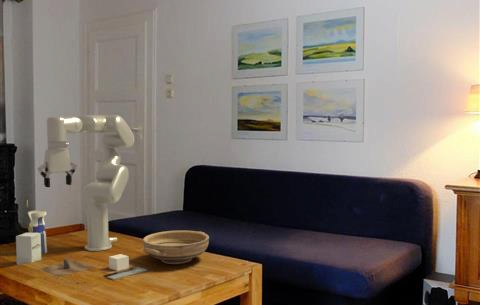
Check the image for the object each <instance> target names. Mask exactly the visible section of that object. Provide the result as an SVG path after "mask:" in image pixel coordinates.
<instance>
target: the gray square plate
mask: <svg viewBox="0 0 480 305" xmlns="http://www.w3.org/2000/svg"><path fill="white" fill-rule="evenodd" d="M128 269H129V270H127V271H123V272H120V273H115V272H112V273H111V272H110V273H108V274H105V275H104V274H103V276H104V277H103V278H106V277H107V279H109V280H112V281H115V280H116V281H117V280H119V279H123V277H124V278H126V277H130V275H131V276H133V275H138V274H141V273H145V272H148V269H147V268H144V267H140V266H133V267H131V268H130V267H129V268H128ZM137 273H138V274H137Z"/></svg>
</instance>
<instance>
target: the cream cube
mask: <svg viewBox="0 0 480 305" xmlns="http://www.w3.org/2000/svg"><path fill="white" fill-rule="evenodd" d="M129 258H130V257H129V256H128V255H126V254H125V255H124V254H122V253H119V254H115V255H111V256H108V268H109V269H111V270H113V271H115V272H114V273H120V272H123V271H127V270H129V269H130V262H129V261H130V259H129Z"/></svg>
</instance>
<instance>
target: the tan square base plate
mask: <svg viewBox="0 0 480 305" xmlns="http://www.w3.org/2000/svg"><path fill="white" fill-rule="evenodd" d="M95 268H96V266H95V267H94V266H92V265H89V264H86V263H83V262H80V261H78V260H71V261H70V258H63V262H62V263H57V264H52V265H50V266H49V265H48V266H45V267H40V268H39V270H40V271H43V272H46V273H48V274H51V275H53V276H56V277H63V276H67V275H70V274H71V275H72V274H74V273H78V272H84V271H86V270H90V269H95Z"/></svg>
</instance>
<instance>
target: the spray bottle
mask: <svg viewBox="0 0 480 305" xmlns="http://www.w3.org/2000/svg"><path fill="white" fill-rule="evenodd" d="M28 207H29V202H28V199H27V200H26V208H28ZM47 215H48V214H47V211H46V210H44V209H37V210H30V211H27V216H28V218H29V219H30V223H29V224H28V225H29V226H28V227H27V228H28V229H27V230H28V233H41V255H43V254H47V253H48V248H47V247H48V245H47V234H46V233H47V232H46V229H45V228H46V227H45V226H46V223H45V216H47Z"/></svg>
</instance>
